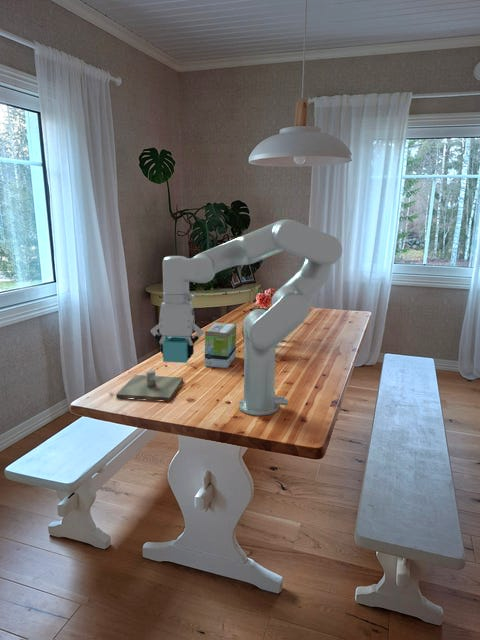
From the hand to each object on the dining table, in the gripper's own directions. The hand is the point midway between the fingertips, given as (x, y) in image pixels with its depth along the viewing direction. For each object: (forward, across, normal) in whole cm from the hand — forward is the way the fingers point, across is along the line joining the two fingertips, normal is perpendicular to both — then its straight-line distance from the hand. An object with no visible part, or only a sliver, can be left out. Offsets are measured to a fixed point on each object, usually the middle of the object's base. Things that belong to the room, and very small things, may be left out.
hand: (177, 355), depth 136 cm
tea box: (+18, -6, -47) cm, 51 cm away
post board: (+18, +13, -15) cm, 27 cm away
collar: (+1, 0, 0) cm, 1 cm away
